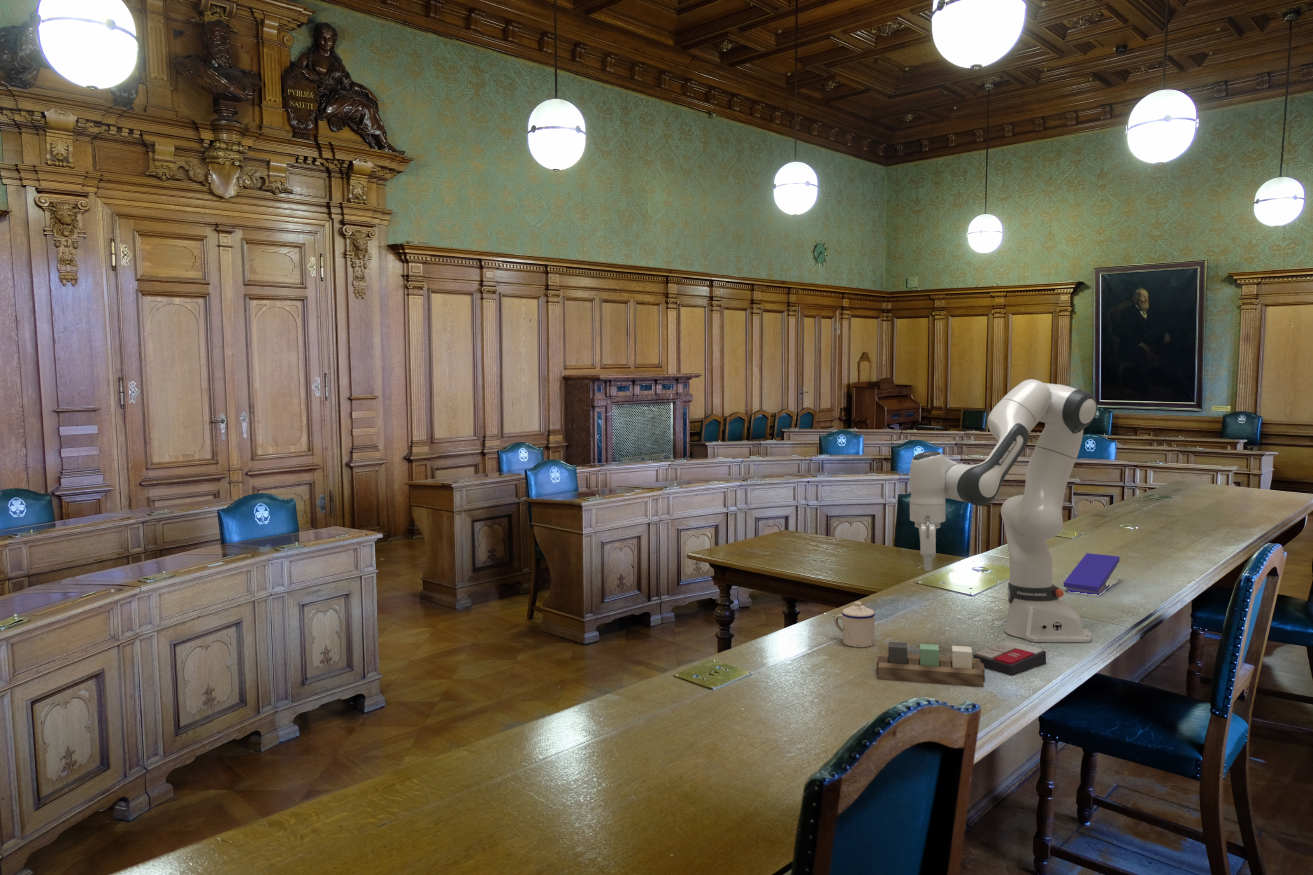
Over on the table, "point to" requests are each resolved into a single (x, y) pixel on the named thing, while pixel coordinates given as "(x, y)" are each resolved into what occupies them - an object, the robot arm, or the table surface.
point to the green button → (929, 655)
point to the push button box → (1011, 658)
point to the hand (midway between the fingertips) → (927, 566)
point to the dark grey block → (897, 652)
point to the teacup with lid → (857, 625)
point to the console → (931, 671)
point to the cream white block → (961, 657)
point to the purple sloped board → (1091, 574)
